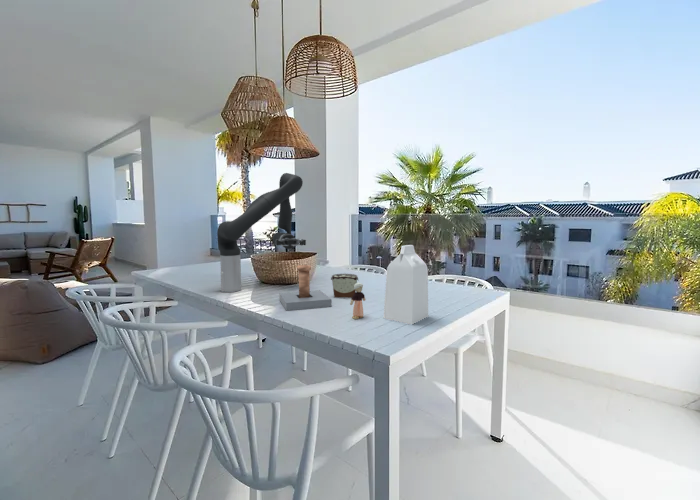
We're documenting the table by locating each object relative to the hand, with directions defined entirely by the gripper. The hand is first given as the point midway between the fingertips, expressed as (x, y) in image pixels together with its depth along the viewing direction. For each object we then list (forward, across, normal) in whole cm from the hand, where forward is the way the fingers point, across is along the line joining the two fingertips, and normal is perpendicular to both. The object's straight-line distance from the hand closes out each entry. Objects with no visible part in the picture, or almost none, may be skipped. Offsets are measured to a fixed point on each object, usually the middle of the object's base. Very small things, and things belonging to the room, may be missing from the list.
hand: (293, 243), depth 165 cm
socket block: (+22, +1, +23) cm, 32 cm away
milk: (+54, +31, +23) cm, 67 cm away
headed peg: (+22, +1, +23) cm, 32 cm away
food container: (+16, +21, +23) cm, 35 cm away
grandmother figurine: (+48, +15, +24) cm, 56 cm away
